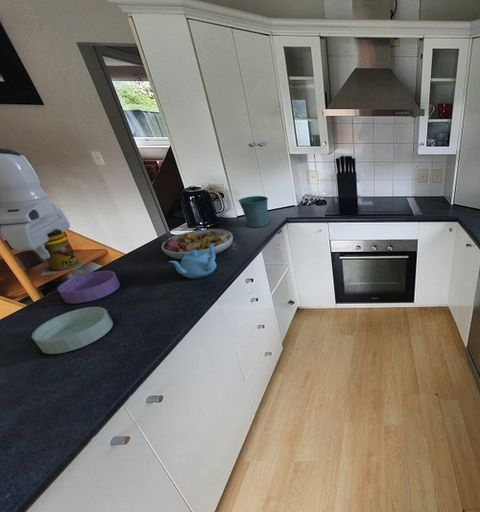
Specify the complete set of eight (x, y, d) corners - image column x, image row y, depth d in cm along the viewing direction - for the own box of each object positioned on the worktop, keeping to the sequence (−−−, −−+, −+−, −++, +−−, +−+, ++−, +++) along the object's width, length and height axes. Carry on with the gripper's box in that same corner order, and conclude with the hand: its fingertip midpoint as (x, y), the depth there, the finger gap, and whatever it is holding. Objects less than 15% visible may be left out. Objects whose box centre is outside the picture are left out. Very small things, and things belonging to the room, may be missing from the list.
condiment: (81, 267, 86) (63, 232, 81) (41, 276, 81) (18, 239, 75) (82, 259, 91) (64, 225, 85) (43, 267, 85) (22, 232, 80)
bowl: (217, 233, 157) (213, 220, 154) (245, 246, 142) (242, 232, 138) (155, 250, 135) (149, 236, 132) (180, 268, 120) (174, 252, 116)
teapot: (184, 267, 121) (176, 246, 116) (222, 261, 126) (216, 241, 122) (176, 284, 109) (168, 261, 104) (219, 276, 114) (213, 255, 110)
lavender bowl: (55, 308, 93) (47, 296, 91) (76, 286, 106) (70, 275, 103) (112, 298, 99) (106, 286, 97) (126, 278, 112) (121, 267, 109)
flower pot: (248, 230, 161) (243, 204, 154) (240, 223, 172) (234, 198, 165) (276, 225, 171) (272, 200, 164) (266, 218, 182) (262, 194, 175)
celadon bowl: (28, 361, 73) (17, 348, 71) (58, 326, 85) (50, 314, 83) (102, 345, 79) (94, 331, 77) (120, 314, 91) (114, 302, 89)
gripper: (37, 200, 85) (59, 241, 91) (-14, 220, 68) (17, 269, 74) (64, 199, 87) (84, 239, 93) (22, 218, 70) (49, 265, 76)
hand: (54, 252), depth 83 cm, fingers closed on condiment, 6 cm apart
